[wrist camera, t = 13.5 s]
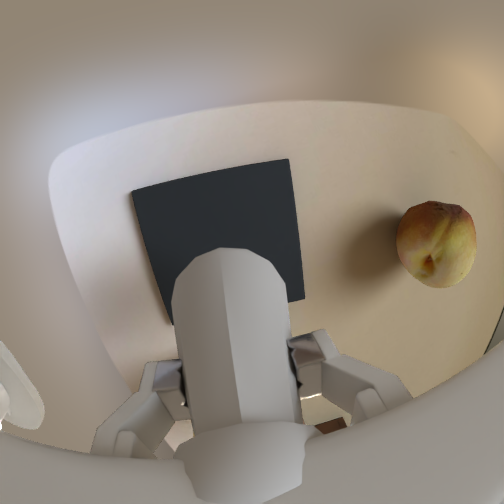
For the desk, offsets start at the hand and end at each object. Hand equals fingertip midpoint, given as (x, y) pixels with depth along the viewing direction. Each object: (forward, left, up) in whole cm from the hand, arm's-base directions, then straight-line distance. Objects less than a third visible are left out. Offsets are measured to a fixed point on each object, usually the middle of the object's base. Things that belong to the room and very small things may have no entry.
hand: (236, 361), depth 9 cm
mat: (0, 0, -13) cm, 13 cm away
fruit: (+18, -2, -13) cm, 22 cm away
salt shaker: (0, 0, -7) cm, 7 cm away
